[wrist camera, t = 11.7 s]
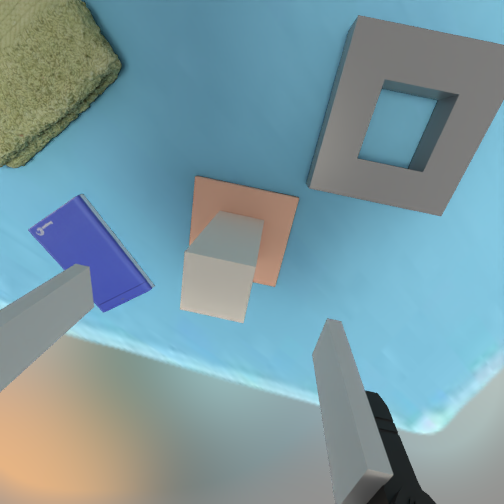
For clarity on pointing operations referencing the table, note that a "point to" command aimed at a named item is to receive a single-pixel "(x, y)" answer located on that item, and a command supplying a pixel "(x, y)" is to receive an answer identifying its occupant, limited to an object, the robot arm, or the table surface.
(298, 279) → the table surface
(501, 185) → the table surface
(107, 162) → the table surface
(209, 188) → the pad
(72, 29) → the washcloth
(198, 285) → the plug
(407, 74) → the gray square ring
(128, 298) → the hard drive
